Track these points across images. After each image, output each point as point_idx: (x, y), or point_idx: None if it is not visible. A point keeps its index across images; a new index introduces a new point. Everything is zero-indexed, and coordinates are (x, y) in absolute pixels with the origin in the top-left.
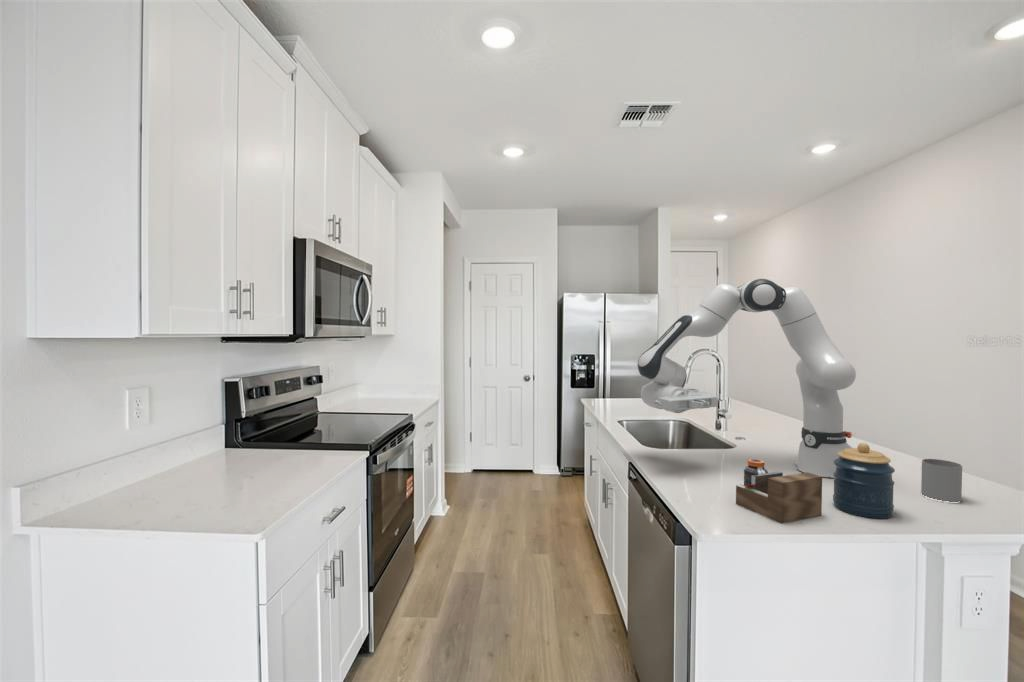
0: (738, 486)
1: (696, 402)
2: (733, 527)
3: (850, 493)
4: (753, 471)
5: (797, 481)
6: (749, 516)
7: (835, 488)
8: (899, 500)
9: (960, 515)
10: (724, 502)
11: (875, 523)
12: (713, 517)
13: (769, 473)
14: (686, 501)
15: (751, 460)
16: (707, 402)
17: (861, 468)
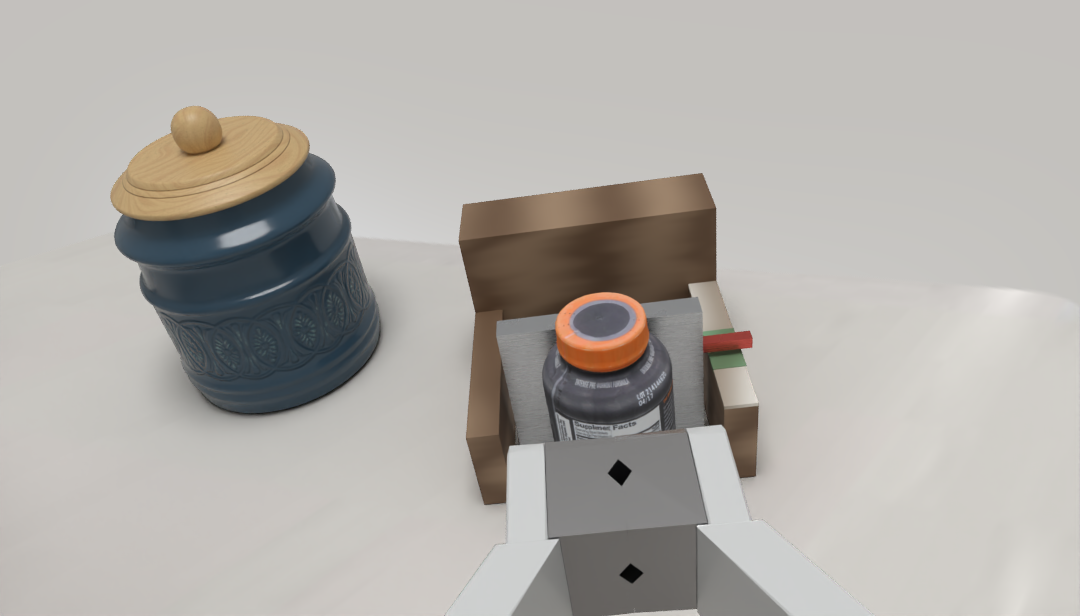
0: (754, 394)
1: (791, 545)
2: (920, 309)
3: (360, 266)
4: (653, 335)
5: (612, 188)
6: (786, 366)
7: (332, 315)
8: (52, 387)
9: (92, 288)
10: (808, 502)
11: (394, 280)
12: (966, 379)
13: None
14: (1052, 559)
15: (627, 322)
16: (545, 446)
17: (317, 160)
